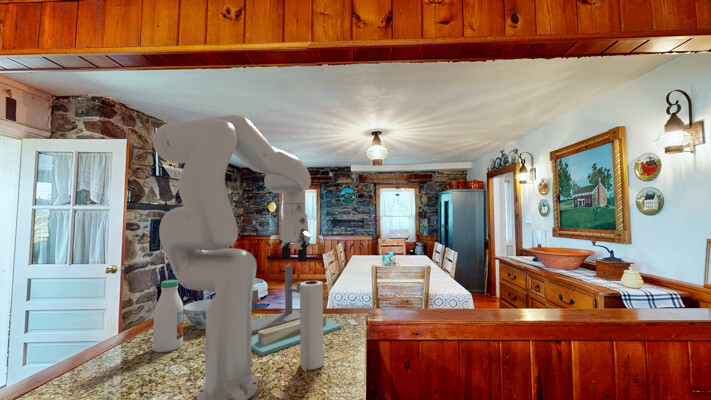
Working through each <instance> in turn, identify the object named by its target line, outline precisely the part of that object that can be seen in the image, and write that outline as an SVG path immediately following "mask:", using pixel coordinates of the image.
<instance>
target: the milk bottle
mask: <svg viewBox="0 0 711 400" xmlns="http://www.w3.org/2000/svg"><path fill="white" fill-rule="evenodd" d="M178 288H179V281H178V280H177V279H167V280H163V281H161V282H160V289H161V293H160V296H159V299H158V301H157V302H156V303H155V307H154V313H153V335H152V338H153V340H152V341H153V342H152V349H153V352H155V353H168V352H172V351H174V350H175V351H176V350H177V349H179V348H181V347H182V346H183V343H184V303H183V301H182V299H181V296H180V295H179V292H178Z"/></svg>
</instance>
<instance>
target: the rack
mask: <svg viewBox="0 0 711 400" xmlns="http://www.w3.org/2000/svg"><path fill="white" fill-rule="evenodd" d="M284 268H285V269H284V271H285V272H284V274H285V275H284V281H285V282H284V283H285V284H284V286H285V287H284V293H285V294H284V296H285V297H284V299H285V300H284V302H285V303H284V304H285V305H284V307H285V309H284V311H285V312H280V313H278V314H273V315H269V316H265V317H261V318H258V319H254V320H253V319H252V335H253V336H254V335H257V334H258V331H261V330H265V329H268V328H272V327H275V326H279V325H282V324H286V323H289V322H292V321H296V320H299V319H300V311H297V310H293V292H295V293H297V294H300V283H302V282H303V281H298V282H296V287H293V265H292V264H286V265H285V266H284ZM257 302H259V289H253V293H252V303H257Z"/></svg>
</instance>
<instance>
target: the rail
mask: <svg viewBox="0 0 711 400" xmlns="http://www.w3.org/2000/svg"><path fill="white" fill-rule="evenodd" d="M326 320H327V315H325V314H323V325H326ZM298 333H300V319H299V320H296V321H292V322H289V323H286V324H282V325H279V326H275V327H272V328H268V329H265V330H261V331H258V333H257V335H258V341H259V342H260V343H262V344H267V343H270V342H274V341H277V340H280V339H283V338H286V337H289V336H292V335H295V334H298Z"/></svg>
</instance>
